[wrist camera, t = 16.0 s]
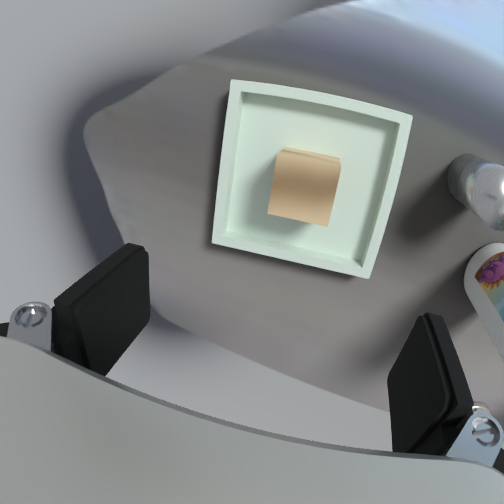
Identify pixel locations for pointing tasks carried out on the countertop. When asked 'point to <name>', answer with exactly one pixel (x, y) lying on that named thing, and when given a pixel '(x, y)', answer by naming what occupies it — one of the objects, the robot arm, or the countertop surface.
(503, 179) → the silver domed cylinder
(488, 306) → the milk bottle
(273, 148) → the sage tray
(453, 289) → the countertop surface
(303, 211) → the oak block
